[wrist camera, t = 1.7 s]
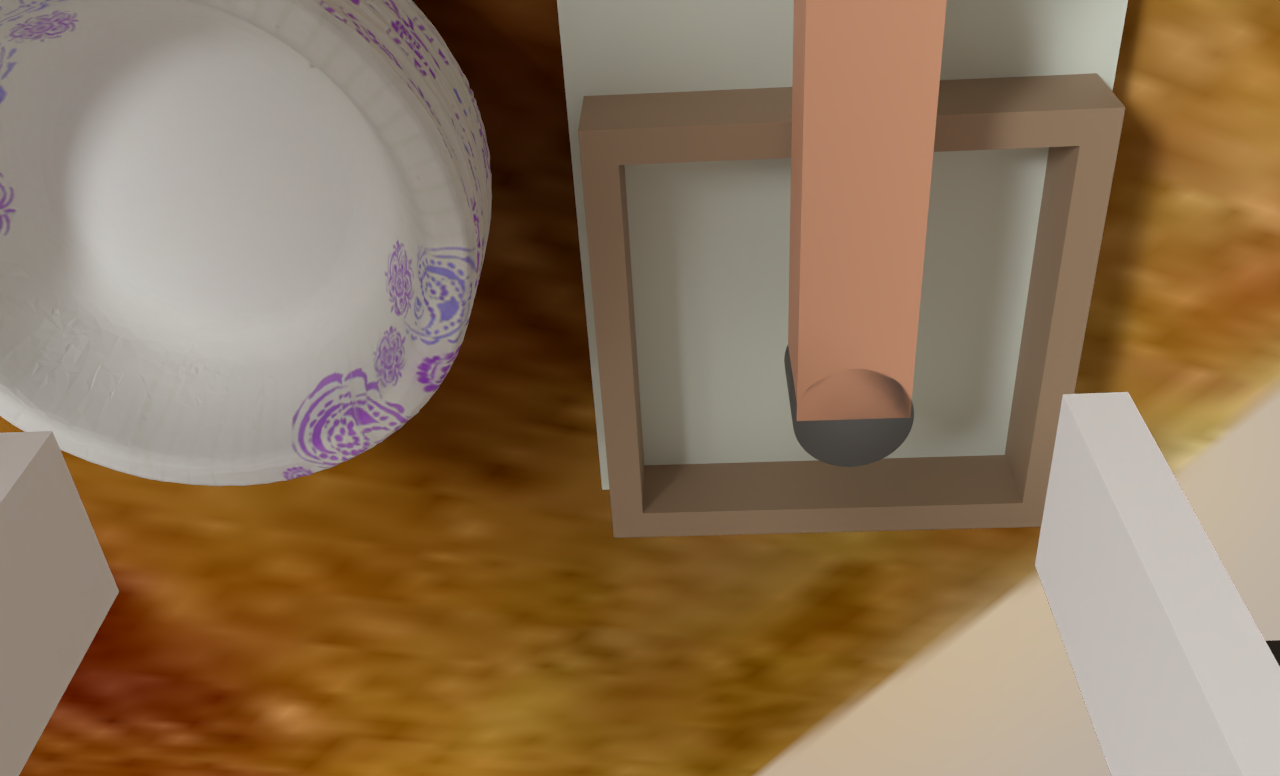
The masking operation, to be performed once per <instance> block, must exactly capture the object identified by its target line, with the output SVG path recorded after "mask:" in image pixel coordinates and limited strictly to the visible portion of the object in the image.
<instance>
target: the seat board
mask: <svg viewBox="0 0 1280 776" xmlns="http://www.w3.org/2000/svg"><path fill="white" fill-rule="evenodd" d="M1127 4H1128V0H947V4H946V15H945V26H944V38H943V49H942V61H941V72H940V83H939V95H938V106H937V118H936V129H935V140H934V152H933V163H932V175H931V186H930V197H929V209H928V220H927V232H926V243H925V254H924V266H923V277H922V289H921V300H920V311H919V323H918V334H917V346H916V357H915V368H914V380H913V391H912V403H913V408H914V420H913V425H912V428H911V431H910V433H909V435H908V437H907V438H906V439H905V441H904V442H903V443H902V444H901V446H900V447H899V448H897V449H896V450H895V451H894V452H893V453H891V454H890V455H888V456H887V457H885V458H883V459H881V460H879V461H876V462H874V463H871V464H867V465H863V466H855V467H841V466H834V465H830V464H827V463H824V462H821V461H819V460H817V459H815V458H814V457H812V456H811V455H810V454H808V453H807V452H806V451H805V450H804V449H803V448H802V446H801V445H800V444H799V442H798V440H797V438H796V436H795V433H794V429H793V423H792V415H791V408H790V401H789V394H788V387H787V380H786V372H785V364H784V357H785V351H786V348H787V345H788V316H789V257H790V198H791V139H792V81H793V22H794V0H557V7H558V18H559V28H560V39H561V50H562V61H563V72H564V82H565V93H566V104H567V115H568V126H569V137H570V147H571V158H572V169H573V180H574V191H575V201H576V212H577V223H578V234H579V245H580V255H581V266H582V277H583V288H584V299H585V309H586V320H587V331H588V342H589V353H590V363H591V374H592V385H593V396H594V407H595V417H596V428H597V439H598V450H599V461H600V471H601V482H602V490H610V501H611V512H612V524H613V535H614V538H627V537H666V536H704V535H742V534H781V533H819V532H857V531H896V530H934V529H972V528H1011V527H1041V525H1042V519H1043V512H1044V506H1045V500H1046V494H1047V488H1048V482H1049V476H1050V470H1051V464H1052V458H1053V452H1054V446H1055V439H1056V433H1057V427H1058V421H1059V415H1060V409H1061V403H1062V397H1063V394H1074V392H1075V387H1076V381H1077V375H1078V370H1079V364H1080V359H1081V353H1082V348H1083V342H1084V336H1085V331H1086V325H1087V320H1088V314H1089V308H1090V303H1091V297H1092V292H1093V286H1094V281H1095V275H1096V269H1097V264H1098V258H1099V253H1100V247H1101V242H1102V236H1103V230H1104V225H1105V219H1106V214H1107V208H1108V202H1109V197H1110V191H1111V186H1112V180H1113V175H1114V169H1115V163H1116V158H1117V152H1118V147H1119V141H1120V136H1121V130H1122V124H1123V119H1124V113H1125V108H1126V107H1125V106H1124V105H1123V104H1122V103H1121V101H1120V100H1119V99H1118V98H1117V97H1116V95H1115V94H1114V93H1113V92H1112V91H1113V85H1114V80H1115V74H1116V68H1117V62H1118V56H1119V50H1120V45H1121V39H1122V33H1123V27H1124V21H1125V15H1126V10H1127Z"/></svg>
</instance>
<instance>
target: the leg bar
mask: <svg viewBox="0 0 1280 776" xmlns="http://www.w3.org/2000/svg"><path fill="white" fill-rule="evenodd" d="M946 4H947V0H794V22H793V81H792V139H791V198H790V257H789V316H788V345H787V348H786V351H785V357H784V364H785V372H786V380H787V387H788V394H789V401H790V408H791V415H792V423H793V429H794V433H795V436H796V438H797V440H798V442H799V444H800V445H801V446H802V448H803V449H804V450H805V451H806V452H807V453H808V454H810V455H811V456H812V457H814V458H815V459H817V460H819V461H821V462H824V463H827V464H830V465H834V466H841V467H855V466H863V465H867V464H871V463H874V462H876V461H879V460H881V459H883V458H885V457H887V456H888V455H890V454H891V453H893V452H894V451H895V450H896V449H897V448H899V447H900V446H901V444H902V443H903V442H904V441H905V439H906V438H907V437H908V435H909V433H910V431H911V428H912V425H913V420H914V408H913V403H912V391H913V380H914V368H915V357H916V346H917V334H918V323H919V311H920V300H921V289H922V277H923V266H924V254H925V243H926V232H927V220H928V209H929V197H930V186H931V175H932V163H933V152H934V140H935V129H936V118H937V106H938V95H939V83H940V72H941V61H942V49H943V38H944V26H945V15H946Z"/></svg>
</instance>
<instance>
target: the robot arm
mask: <svg viewBox="0 0 1280 776" xmlns="http://www.w3.org/2000/svg"><path fill="white" fill-rule="evenodd" d="M1035 567H1036V570H1037V573H1038V575H1039V578H1040V581H1041V583H1042V586H1043V589H1044V592H1045V595H1046V597H1047V600H1048V603H1049V606H1050V609H1051V611H1052V614H1053V617H1054V619H1055V622H1056V625H1057V628H1058V630H1059V633H1060V636H1061V639H1062V642H1063V644H1064V647H1065V650H1066V653H1067V655H1068V658H1069V660H1070V663H1071V666H1072V669H1073V672H1074V675H1075V678H1076V680H1077V683H1078V686H1079V689H1080V691H1081V694H1082V697H1083V699H1084V702H1085V705H1086V708H1087V711H1088V713H1089V716H1090V719H1091V722H1092V724H1093V727H1094V730H1095V733H1096V735H1097V738H1098V741H1099V744H1100V746H1101V749H1102V752H1103V755H1104V757H1105V760H1106V763H1107V766H1108V769H1109V771H1110V774H1111V776H1280V641H1265V639H1264V638H1263V636H1262V634H1261V632H1260V630H1259V629H1258V627H1257V625H1256V623H1255V621H1254V619H1253V618H1252V616H1251V614H1250V612H1249V610H1248V609H1247V607H1246V605H1245V603H1244V601H1243V600H1242V598H1241V596H1240V594H1239V592H1238V590H1237V589H1236V587H1235V585H1234V583H1233V581H1232V579H1231V578H1230V576H1229V574H1228V572H1227V570H1226V569H1225V567H1224V565H1223V563H1222V561H1221V559H1220V558H1219V556H1218V554H1217V552H1216V550H1215V549H1214V547H1213V545H1212V543H1211V541H1210V540H1209V538H1208V536H1207V534H1206V532H1205V531H1204V529H1203V527H1202V525H1201V523H1200V522H1199V520H1198V518H1197V516H1196V514H1195V512H1194V511H1193V509H1192V507H1191V505H1190V503H1189V502H1188V500H1187V498H1186V496H1185V494H1184V492H1183V491H1182V489H1181V487H1180V485H1179V483H1178V482H1177V480H1176V478H1175V476H1174V474H1173V473H1172V471H1171V469H1170V467H1169V465H1168V464H1167V462H1166V460H1165V458H1164V456H1163V454H1162V453H1161V451H1160V449H1159V447H1158V445H1157V444H1156V442H1155V440H1154V438H1153V436H1152V435H1151V433H1150V431H1149V429H1148V427H1147V425H1146V424H1145V422H1144V420H1143V418H1142V416H1141V415H1140V413H1139V411H1138V409H1137V407H1136V406H1135V404H1134V402H1133V400H1132V398H1131V396H1130V395H1129V393H1128V392H1112V393H1085V394H1063V397H1062V403H1061V409H1060V415H1059V421H1058V427H1057V433H1056V439H1055V446H1054V452H1053V458H1052V464H1051V470H1050V476H1049V482H1048V488H1047V494H1046V500H1045V506H1044V512H1043V519H1042V525H1041V531H1040V537H1039V543H1038V549H1037V555H1036V561H1035ZM118 593H119V590H118V588H117V586H116V583H115V581H114V578H113V576H112V574H111V571H110V569H109V566H108V564H107V561H106V559H105V557H104V554H103V552H102V549H101V547H100V545H99V542H98V540H97V537H96V535H95V532H94V530H93V528H92V525H91V523H90V520H89V518H88V516H87V513H86V511H85V508H84V506H83V504H82V501H81V499H80V496H79V494H78V491H77V489H76V487H75V484H74V482H73V479H72V477H71V475H70V472H69V470H68V467H67V465H66V462H65V460H64V458H63V455H62V453H61V450H60V448H59V446H58V443H57V441H56V438H55V436H54V434H53V431H39V432H12V433H0V776H19V774H20V773H21V771H22V769H23V767H24V765H25V763H26V762H27V760H28V758H29V756H30V754H31V752H32V751H33V749H34V747H35V745H36V743H37V741H38V740H39V738H40V736H41V734H42V732H43V730H44V729H45V727H46V725H47V723H48V721H49V719H50V717H51V716H52V714H53V712H54V710H55V708H56V706H57V705H58V703H59V701H60V699H61V697H62V695H63V694H64V692H65V690H66V688H67V686H68V684H69V683H70V681H71V679H72V677H73V675H74V673H75V672H76V670H77V668H78V666H79V664H80V662H81V661H82V659H83V657H84V655H85V653H86V651H87V650H88V648H89V646H90V644H91V642H92V640H93V639H94V637H95V635H96V633H97V631H98V629H99V627H100V626H101V624H102V622H103V620H104V618H105V616H106V615H107V613H108V611H109V609H110V607H111V605H112V604H113V602H114V600H115V598H116V596H117V594H118Z"/></svg>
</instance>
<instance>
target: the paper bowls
mask: <svg viewBox="0 0 1280 776" xmlns="http://www.w3.org/2000/svg"><path fill="white" fill-rule="evenodd" d="M491 182H492V174H491V170H490V153H489V148H488V144H487V138H486V132H485V127H484V124H483V122H482V119H481V115H480V111H479V109H478V106H477V103H476V99H475V98H474V94H473V91H472V90H471V89H470V87H469V82H468V80H467V78H466V76H465V75H464V73H463V72H462V70H461V68H460V66H459V64H458V63H457V61H456V60H455V58H454V57H453V55H452V53H451V52H450V50H449V48H448V47H447V45H446V43H445V42H444V40H443V38H442V37H441V35H440V34H439V32H438V31H437V30H436V28H435V27H434V25H433V24H432V23H431V22H430V21H429V19H428V18H427V17H426V16H425V14H424V13H423V12H422V11H421V10H420V9H419V8H418V7H417V5H416V4H415V3H414V2H413V1H412V0H0V416H1V417H3V418H4V419H6V420H7V421H9V422H10V423H11V424H13V425H14V426H16V427H18V428H19V429H21V430H23V431H25V432H39V431H53V434H54V436H55V438H56V441H57V443H58V446H59V448H60V450H62V451H65V452H67V453H70V454H72V455H75V456H77V457H79V458H82V459H84V460H86V461H89V462H92V463H95V464H98V465H101V466H104V467H107V468H110V469H113V470H116V471H120V472H123V473H127V474H131V475H134V476H138V477H142V478H146V479H151V480H158V481H164V482H174V483H182V484H190V485H208V486H232V485H234V486H247V485H254V484H267V483H273V482H277V481H288V480H291V479H294V478H298V477H301V476H307V475H311V474H313V473H314V472H319V471H321V470H324V469H329V468H332V467H334V466H336V465H338V464H340V463H342V462H344V461H348V460H350V459H352V458H354V457H355V456H357V455H359V454H361V453H363V452H365V451H367V450H369V449H371V448H373V447H374V446H375V445H377V444H379V443H381V442H383V441H384V440H385V439H386V438H387V437H389V436H390V435H391V434H392V433H394V432H395V431H397V430H399V429H400V428H401V427H402V426H403V425H404V424H405V423H406V422H407V421H409V420H410V419H411V418H412V417H414V415H416V414H417V413H419V411H420V409H421V408H422V407H423V406H424V405H425V404H426V403H427V402H428V401H429V399H430V398H431V397H432V395H433V394H434V393H435V392H436V391H437V389H438V388H439V385H440V384H441V383H442V382H443V380H444V378H445V377H446V375H447V373H448V372H449V371H450V368H451V366H452V364H453V362H454V360H455V358H456V357H457V355H458V351H459V349H460V346H461V344H462V342H463V340H464V336H465V333H466V330H467V326H468V323H469V318H470V314H471V311H472V307H473V302H474V298H475V295H476V291H477V286H478V283H479V279H480V274H481V269H482V265H483V262H484V257H485V251H486V246H487V240H488V235H489V228H490V221H491V206H492V190H491Z"/></svg>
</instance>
